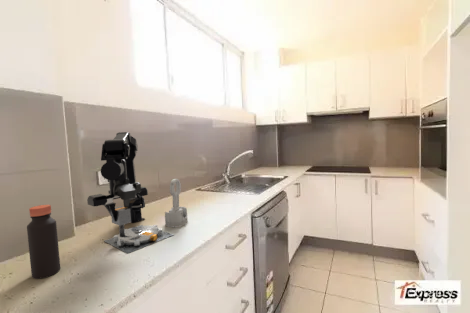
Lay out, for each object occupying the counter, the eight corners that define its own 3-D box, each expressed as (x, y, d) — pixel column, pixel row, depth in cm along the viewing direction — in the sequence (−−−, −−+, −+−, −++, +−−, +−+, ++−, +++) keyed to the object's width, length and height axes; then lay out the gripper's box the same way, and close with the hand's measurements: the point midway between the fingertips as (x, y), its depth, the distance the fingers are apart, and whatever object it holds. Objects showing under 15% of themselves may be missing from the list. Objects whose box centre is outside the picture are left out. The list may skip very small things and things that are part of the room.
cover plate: (103, 241, 94) (103, 240, 94) (147, 226, 109) (147, 226, 109) (127, 253, 82) (127, 253, 82) (173, 235, 97) (173, 234, 97)
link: (111, 222, 86) (110, 208, 86) (123, 219, 89) (122, 205, 89) (119, 225, 82) (118, 211, 82) (131, 222, 85) (130, 208, 85)
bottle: (44, 267, 76) (38, 204, 74) (65, 266, 75) (60, 203, 74) (25, 279, 69) (18, 210, 68) (48, 279, 69) (41, 209, 67)
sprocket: (109, 250, 85) (108, 232, 84) (118, 232, 102) (116, 217, 101) (162, 241, 90) (161, 224, 90) (162, 226, 107) (161, 211, 107)
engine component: (161, 226, 108) (182, 227, 106) (158, 181, 107) (179, 181, 105) (172, 218, 119) (191, 219, 117) (169, 177, 118) (189, 177, 116)
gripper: (98, 181, 72) (103, 232, 73) (154, 173, 86) (157, 216, 88) (84, 179, 79) (88, 225, 80) (138, 171, 94) (141, 211, 95)
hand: (121, 219), depth 86 cm, fingers closed on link, 4 cm apart
